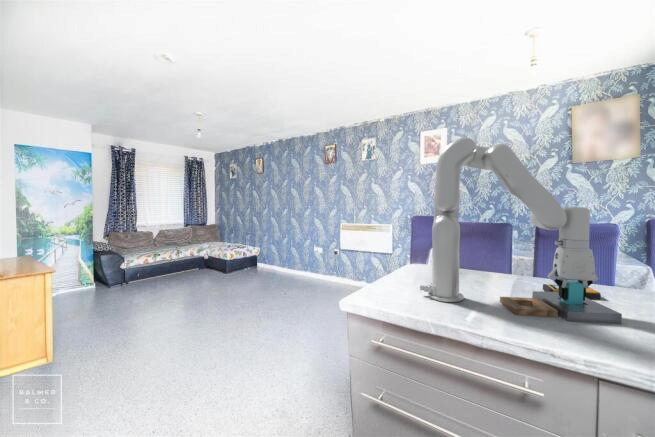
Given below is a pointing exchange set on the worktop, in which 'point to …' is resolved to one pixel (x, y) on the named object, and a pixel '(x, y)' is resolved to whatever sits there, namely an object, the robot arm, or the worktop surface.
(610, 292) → the worktop surface
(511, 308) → the wooden square tray
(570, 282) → the plug
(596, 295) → the electronic device
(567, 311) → the panel
